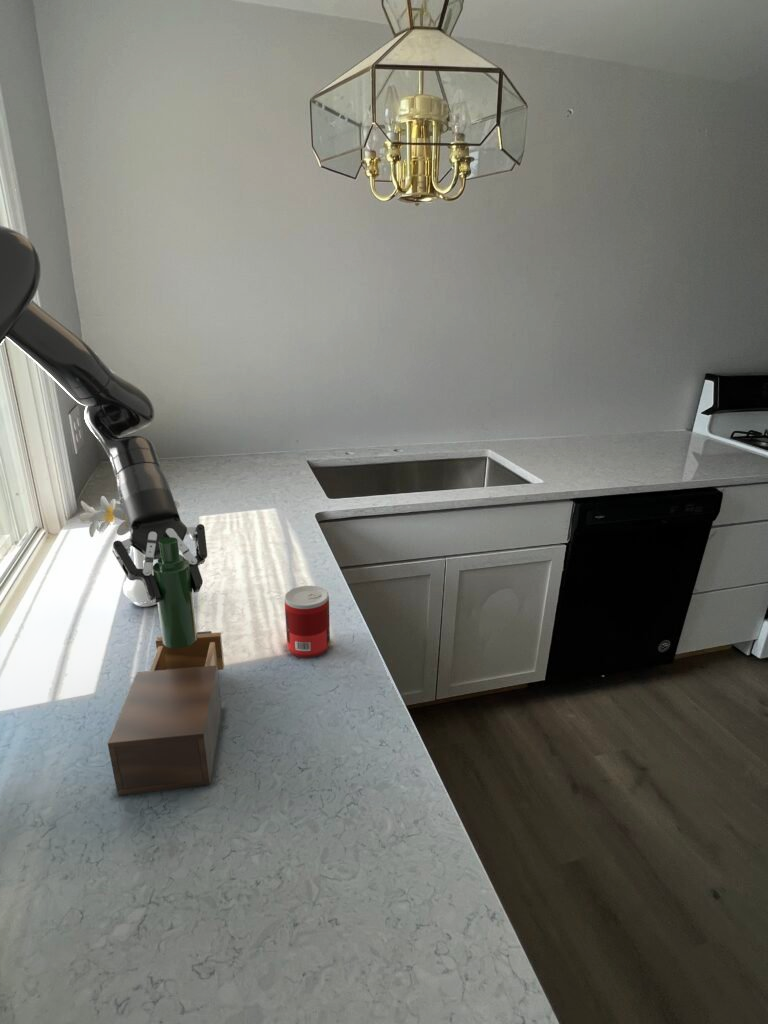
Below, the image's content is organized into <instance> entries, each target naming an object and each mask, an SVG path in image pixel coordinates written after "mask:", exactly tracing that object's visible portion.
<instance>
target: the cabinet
mask: <svg viewBox="0 0 768 1024" xmlns="http://www.w3.org/2000/svg"><path fill="white" fill-rule="evenodd" d="M135 672H136V671H135ZM220 691H221V690H220V682H219V672H218V673H217V666H204V667H192V668H180V669H168V670H156V671H149V670H146V671H137V672H136V673H135V674H134V678H133V680H132V682H131V685H130V687H129V689H128V692H127V695H126V697H125V700H124V702H123V704H122V707H121V709H120V712H119V714H118V716H117V719H116V722H115V724H114V726H113V729H112V731H111V734H110V736H109V738H108V741H107V748H108V753H109V758H110V763H111V767H112V773H113V779H114V782H115V787H116V792H117V796H125V795H132V794H134V795H135V794H141V793H150V792H159V791H168V790H176V789H183V788H185V789H186V788H193V787H201V786H209V785H211V781H212V773H213V768H214V761H215V755H216V748H217V743H218V737H219V736H218V735H219V731H220V723H221V719H222V718H221V717H222V713H223V712H222V701H221V692H220Z"/></svg>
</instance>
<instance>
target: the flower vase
mask: <svg viewBox="0 0 768 1024" xmlns="http://www.w3.org/2000/svg"><path fill="white" fill-rule="evenodd" d="M174 502H175V505H176V508H177V509H178V508H179V507H180V502H179V501H177V500H174ZM80 505H81V507H82V508H83V510H84V511H85V512H86V513H81V514H80V515H79V521H80V522H81V523H82V524H89V528H88V532H89V533H88V534H89V536H90V537H91V538H93V537H94V535H95V533H96V531H97V532H98V534H99V535H102V534H103V533H104V532H105V530H107V528H109V525H110V526H113V525H115V523H116V519H118V520H120V521H122V522H121V523H120V524H119V525H118V527H117V529H116V534H117V535H118V536H124V535H127V534H128V533H130V529H129V526H128V523H127V519H126V516H125V513H124V510H123V506H122V504H121V502H120V500H116V499H115V498H113V499H111V500H110V502H109V501H108V499H107V497H106V496H104V495H102V496H100V505H101V508H102V509H103V510H99V511H97V510H95V508H94V507H93V506H90V505H88V503H86V502H85V501H83V500H80ZM132 550H133V563H134V564H135V566H136V568H137V569H143V563H144V556H145V555H144V554H143V553H141V552H140V551H138V550H137V549H136V548H134V547H133V546H132ZM154 564H155V563H154V562H153V566H154ZM152 575H154V574H153V567H152ZM122 592H123V594H124V596H125V597H126V598H127V599H129V600H130V601H132V603H133V604H134V605H135V606H137V607H145V608H147V607H152V606H155V605H158V604H157V603H154V600H150V599H149V598H148V596H147V593H146V589H145V586H144V583H143V581H141V580H133V581H131V580H129V579H128V578H127V577H126V579H125V581H124V583H123V586H122ZM151 601H152V602H151ZM141 602H143V603H141ZM144 602H146V603H144Z"/></svg>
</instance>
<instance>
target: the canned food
mask: <svg viewBox="0 0 768 1024" xmlns="http://www.w3.org/2000/svg"><path fill="white" fill-rule="evenodd" d="M284 616H285V617H284V618H285V632H286V646H287V649H288V651H289V653H290V654H292V655H293V656H295V657H297V658H304V659H306V658H307V659H309V658H315V657H319V656H321V655H322V654H324V653H326V652H327V650H328V649H329V646H330V643H331V629H330V627H331V626H330V625H331V624H330V595H329V591H327V589H325V588H323V587H321V586H317V585H301V586H298V587H294V588H291V589H290V590H288V591H287V592H286V593H285V595H284Z"/></svg>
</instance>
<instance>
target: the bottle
mask: <svg viewBox="0 0 768 1024" xmlns="http://www.w3.org/2000/svg"><path fill="white" fill-rule="evenodd" d="M159 548H160V555H161V557H160V558H159V559H157V562H155V563H154V566H153V574H154V577H155V579H156V583H157V586H158V589H159V592H160V596H161V600H160V602H157V604H156V605H157V611H158V616H159V625H160V626H159V627H160V633H161V637H162V640H163V644H164V645H165V646H166V647H168V648H183V647H186V646H189V645H191V644H192V643H194V642H195V641H196V639H197V632H198V628H197V620H196V610H195V602H194V601H195V600H194V592H193V589H192V582H191V573H190V564H189V561H188V560H186V559H183V556H181V555H179V548H178V540H177V538H174V537H168V538H163V539H161V540H160V541H159Z"/></svg>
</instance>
